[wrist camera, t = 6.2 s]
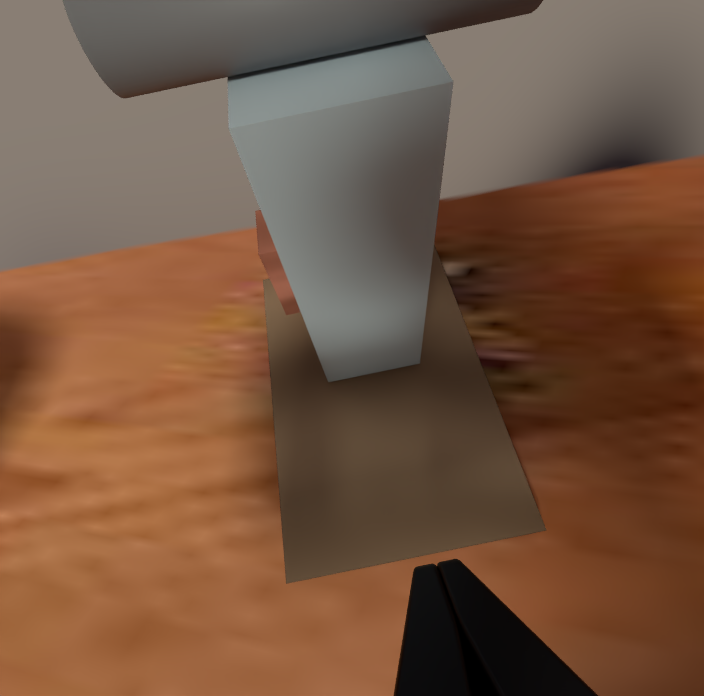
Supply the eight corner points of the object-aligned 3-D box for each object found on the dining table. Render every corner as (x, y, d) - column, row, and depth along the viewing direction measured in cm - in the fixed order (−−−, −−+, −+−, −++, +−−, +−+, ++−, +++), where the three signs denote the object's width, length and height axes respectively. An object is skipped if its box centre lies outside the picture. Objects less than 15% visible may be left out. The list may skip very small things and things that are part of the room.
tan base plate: (538, 531, 13) (606, 519, 9) (291, 582, 14) (241, 594, 9) (432, 255, 20) (442, 171, 16) (267, 289, 20) (232, 215, 16)
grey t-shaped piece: (465, 354, 16) (619, -98, 5) (282, 391, 16) (30, 26, 5) (438, 282, 18) (505, -157, 7) (275, 316, 18) (83, -68, 7)
